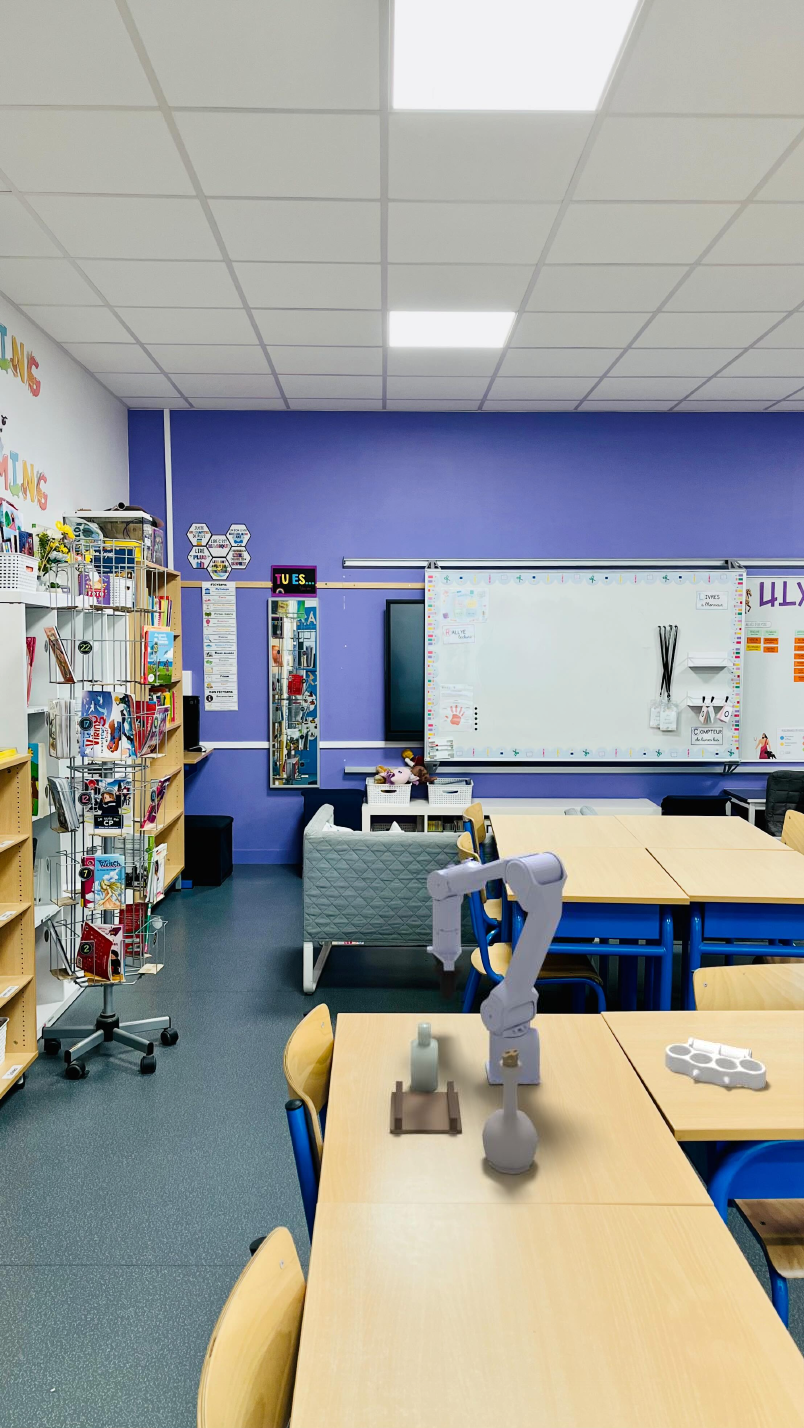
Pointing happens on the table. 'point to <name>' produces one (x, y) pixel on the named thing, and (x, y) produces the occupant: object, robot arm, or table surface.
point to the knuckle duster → (716, 1063)
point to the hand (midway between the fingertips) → (446, 991)
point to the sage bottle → (424, 1060)
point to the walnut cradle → (425, 1111)
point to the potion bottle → (509, 1125)
